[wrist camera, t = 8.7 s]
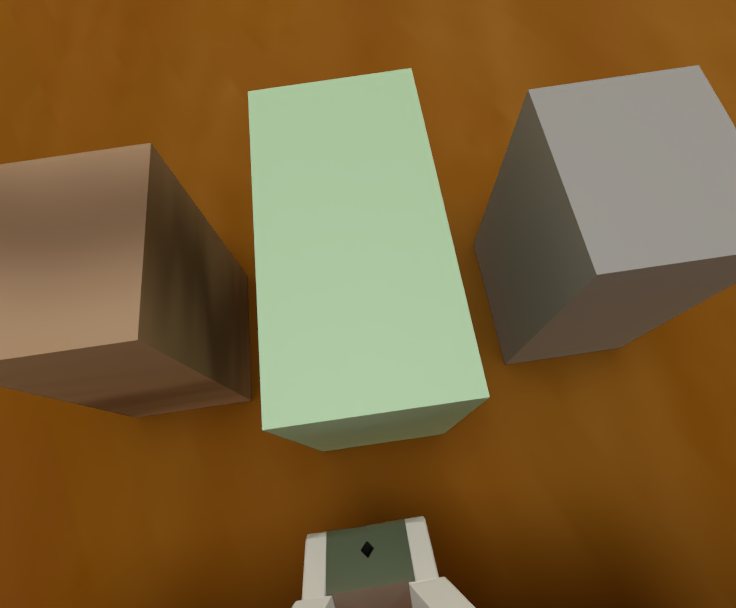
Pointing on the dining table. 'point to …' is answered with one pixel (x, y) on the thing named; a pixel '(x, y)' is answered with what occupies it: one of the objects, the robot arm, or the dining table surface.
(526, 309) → the grey block
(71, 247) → the walnut block
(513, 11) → the dining table surface
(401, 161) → the sage brick
